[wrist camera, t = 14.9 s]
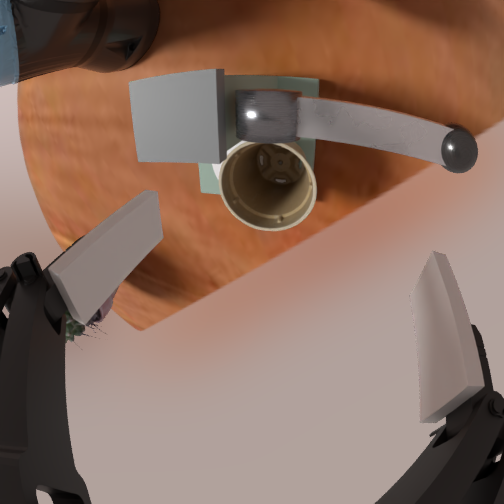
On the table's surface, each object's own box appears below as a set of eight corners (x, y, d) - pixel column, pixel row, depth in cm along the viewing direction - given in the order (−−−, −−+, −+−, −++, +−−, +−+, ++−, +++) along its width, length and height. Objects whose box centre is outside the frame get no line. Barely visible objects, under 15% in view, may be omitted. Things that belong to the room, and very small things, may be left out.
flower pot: (303, 112, 27) (293, 124, 21) (331, 185, 32) (329, 219, 25) (232, 139, 32) (202, 160, 25) (262, 204, 36) (243, 240, 29)
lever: (247, 129, 18) (226, 142, 15) (246, 86, 16) (224, 90, 13) (458, 167, 14) (481, 189, 11) (466, 125, 13) (493, 139, 9)
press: (207, 190, 40) (128, 271, 25) (200, 75, 29) (86, 93, 15) (310, 202, 36) (282, 308, 21) (319, 76, 26) (297, 68, 11)
